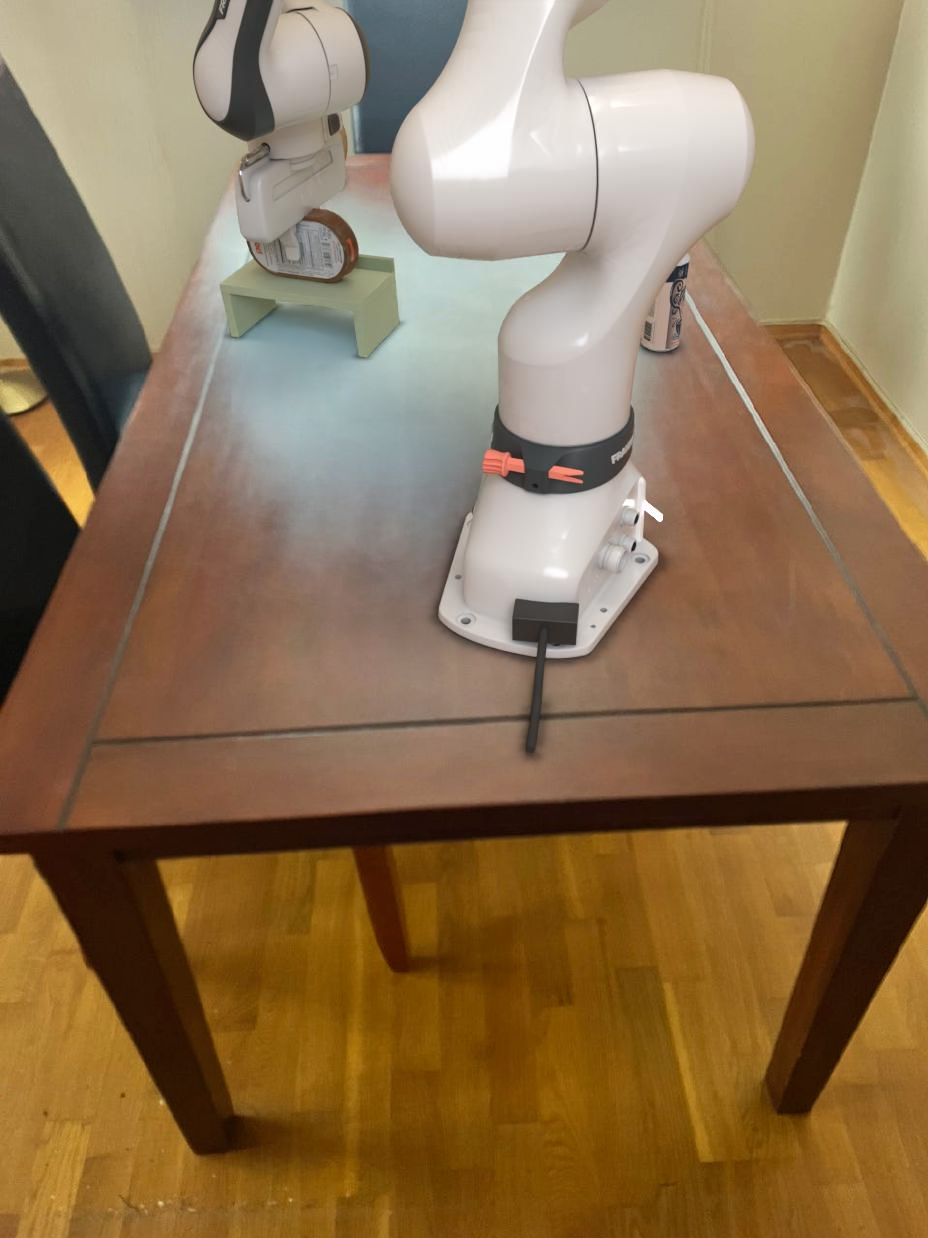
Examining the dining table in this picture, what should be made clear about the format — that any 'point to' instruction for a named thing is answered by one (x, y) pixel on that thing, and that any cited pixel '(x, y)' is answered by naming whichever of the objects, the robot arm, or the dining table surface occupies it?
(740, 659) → the dining table surface
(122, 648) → the dining table surface
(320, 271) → the tin
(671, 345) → the beer can
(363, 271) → the shelf
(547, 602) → the robot arm
